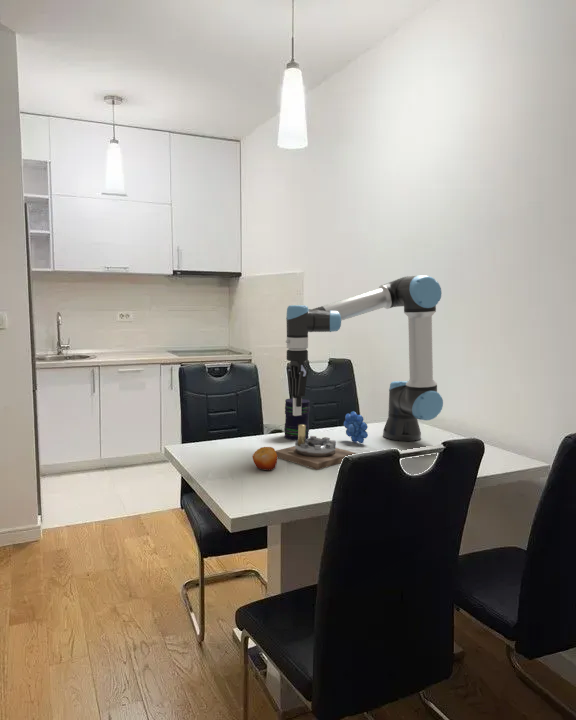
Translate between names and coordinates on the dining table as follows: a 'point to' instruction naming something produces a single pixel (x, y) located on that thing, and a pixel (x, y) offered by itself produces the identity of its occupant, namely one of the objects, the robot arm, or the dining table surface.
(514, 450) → the dining table surface
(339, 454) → the base plate
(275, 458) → the fruit
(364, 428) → the grapes
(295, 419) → the storage jar
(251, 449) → the dining table surface
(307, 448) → the crank wheel
